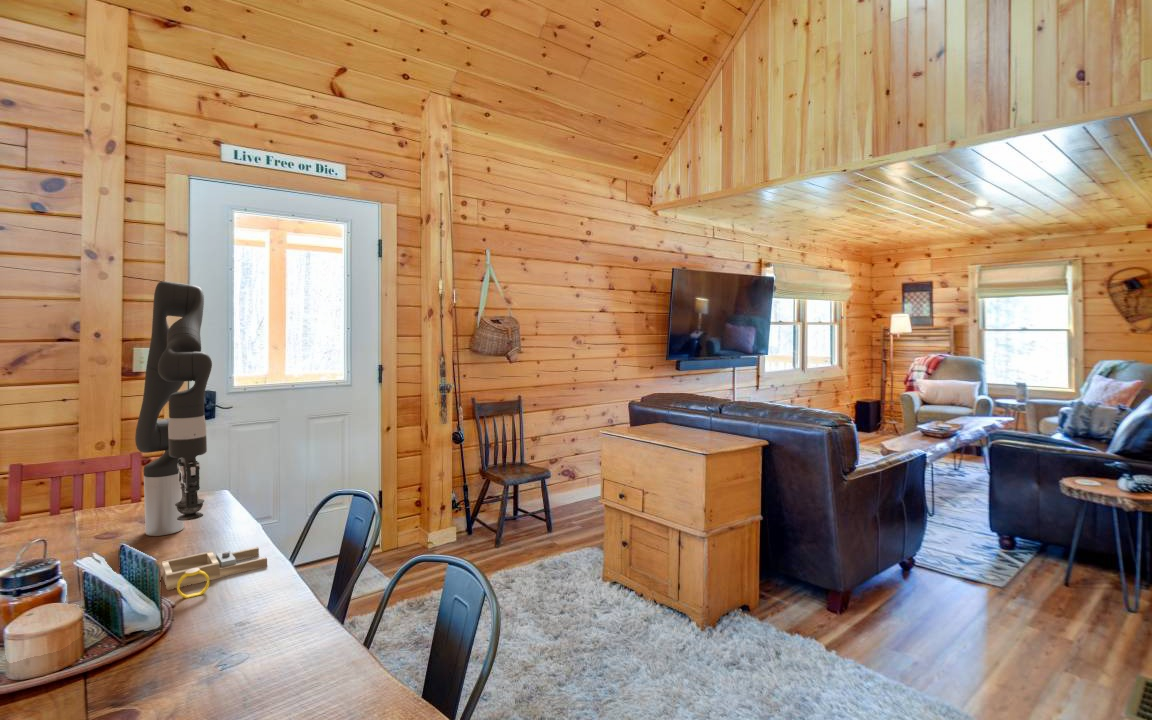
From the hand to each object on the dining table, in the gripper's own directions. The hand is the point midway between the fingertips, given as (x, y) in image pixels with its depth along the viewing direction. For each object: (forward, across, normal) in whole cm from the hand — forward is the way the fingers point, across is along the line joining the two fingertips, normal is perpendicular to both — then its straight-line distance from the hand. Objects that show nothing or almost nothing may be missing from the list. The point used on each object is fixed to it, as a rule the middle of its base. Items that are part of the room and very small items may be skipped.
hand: (189, 504), depth 138 cm
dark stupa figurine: (+3, 0, 0) cm, 3 cm away
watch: (+18, -12, +1) cm, 22 cm away
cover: (+18, 0, -7) cm, 19 cm away
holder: (+18, 0, -5) cm, 18 cm away
